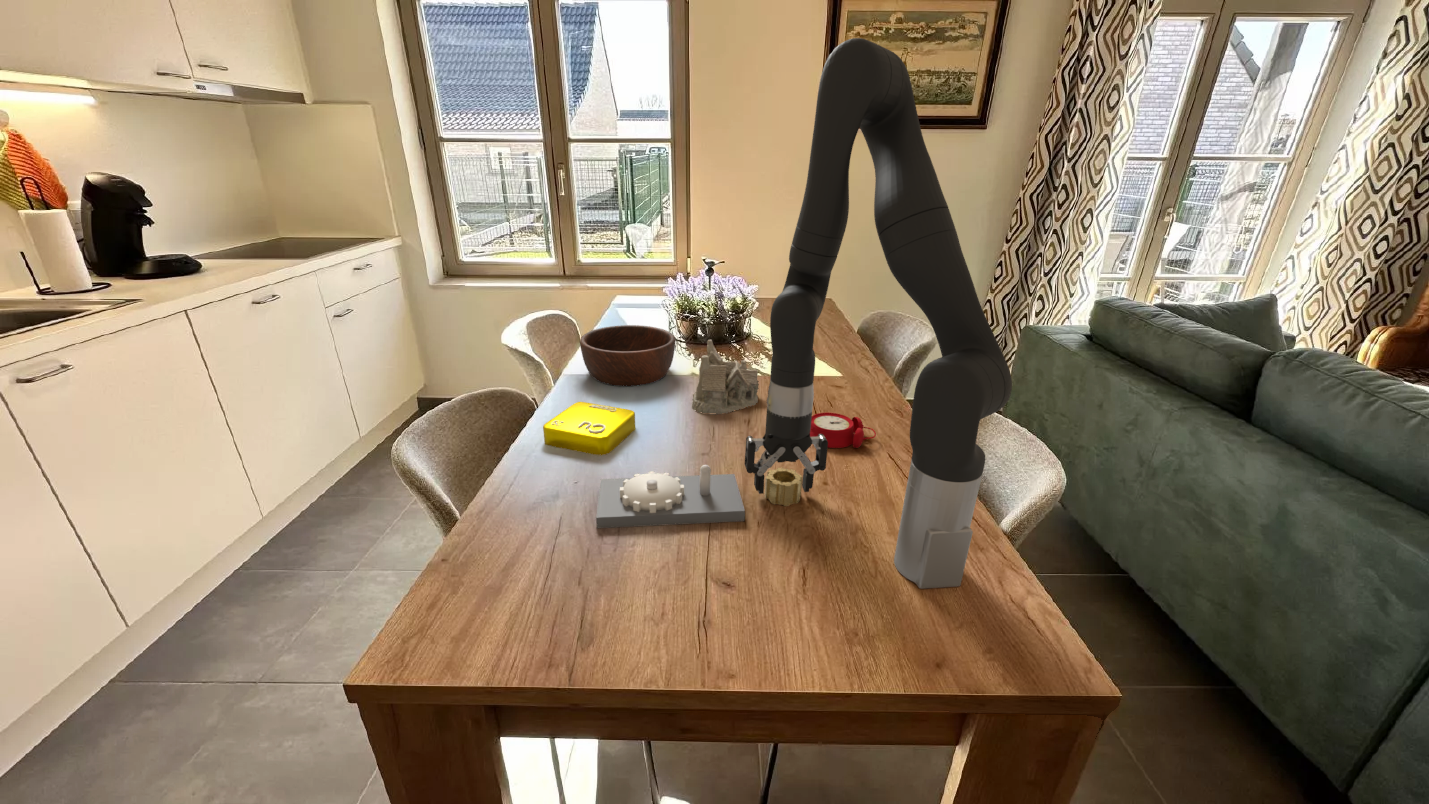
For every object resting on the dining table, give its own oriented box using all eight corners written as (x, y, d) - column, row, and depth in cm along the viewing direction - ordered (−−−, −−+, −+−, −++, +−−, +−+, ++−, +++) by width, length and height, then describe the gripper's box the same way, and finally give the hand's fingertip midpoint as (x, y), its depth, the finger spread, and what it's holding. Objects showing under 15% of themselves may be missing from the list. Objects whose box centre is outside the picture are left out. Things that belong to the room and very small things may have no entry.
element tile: (638, 428, 130) (638, 408, 128) (605, 458, 117) (604, 437, 115) (578, 417, 135) (577, 398, 133) (540, 445, 122) (538, 424, 120)
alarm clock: (802, 410, 132) (871, 402, 128) (806, 435, 134) (874, 428, 130) (800, 430, 122) (875, 422, 119) (804, 457, 124) (878, 449, 121)
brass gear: (804, 505, 103) (806, 485, 101) (768, 506, 102) (770, 486, 100) (795, 486, 108) (797, 467, 107) (761, 487, 108) (763, 468, 106)
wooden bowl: (631, 353, 177) (630, 319, 173) (694, 373, 162) (694, 337, 158) (562, 374, 159) (559, 337, 155) (626, 399, 144) (625, 359, 140)
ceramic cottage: (684, 411, 138) (689, 349, 133) (701, 388, 153) (707, 332, 147) (749, 422, 135) (758, 360, 130) (761, 398, 150) (768, 341, 145)
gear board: (744, 521, 98) (746, 482, 95) (596, 528, 95) (594, 488, 92) (733, 483, 109) (735, 447, 106) (601, 488, 106) (599, 452, 103)
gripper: (751, 416, 94) (746, 504, 100) (838, 413, 96) (828, 500, 102) (743, 398, 101) (739, 481, 107) (825, 396, 103) (816, 478, 109)
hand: (783, 490), depth 105 cm, fingers open, 7 cm apart
